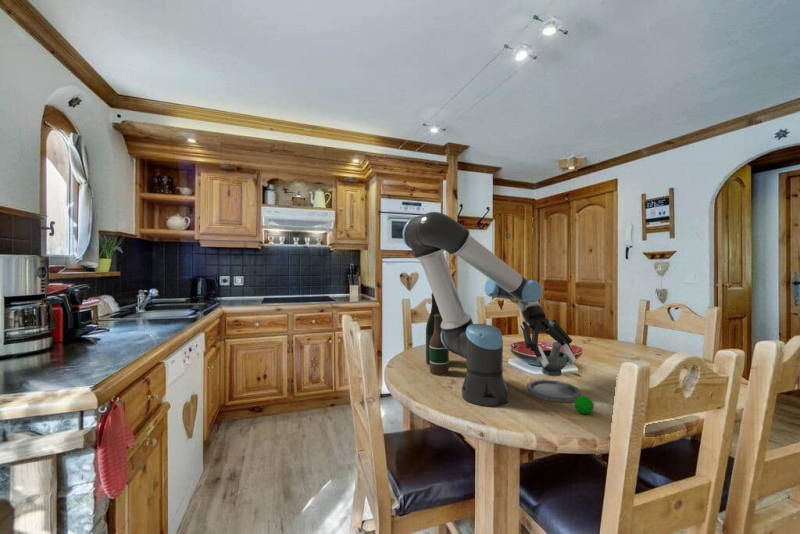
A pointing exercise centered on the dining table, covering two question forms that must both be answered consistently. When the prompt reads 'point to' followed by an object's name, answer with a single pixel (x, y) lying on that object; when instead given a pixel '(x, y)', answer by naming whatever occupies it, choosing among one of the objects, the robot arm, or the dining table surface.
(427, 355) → the wine bottle
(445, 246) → the robot arm
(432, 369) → the beer bottle
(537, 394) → the gray plate
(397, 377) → the dining table surface
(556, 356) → the mortar and pestle
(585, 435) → the dining table surface
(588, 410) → the polyhedron
